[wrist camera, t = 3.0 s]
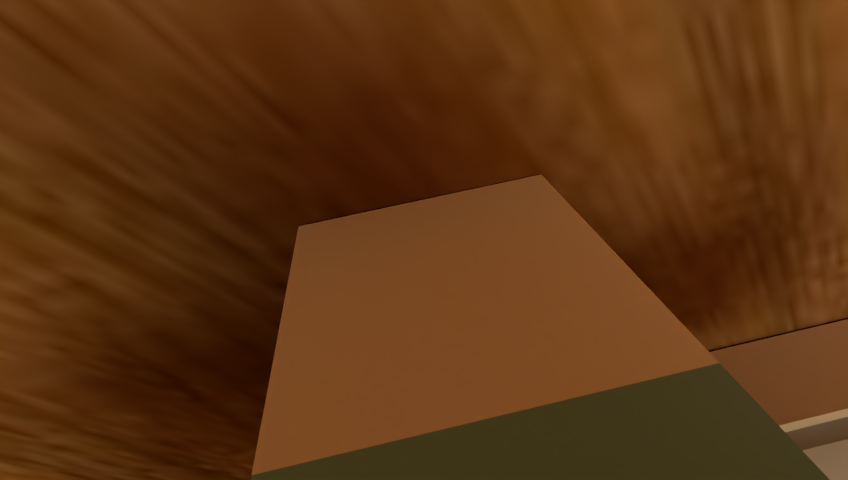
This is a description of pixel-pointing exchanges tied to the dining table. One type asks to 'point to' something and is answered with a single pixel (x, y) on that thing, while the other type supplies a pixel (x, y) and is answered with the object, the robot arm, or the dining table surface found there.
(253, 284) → the dining table surface
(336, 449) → the cream carton
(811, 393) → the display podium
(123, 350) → the dining table surface
